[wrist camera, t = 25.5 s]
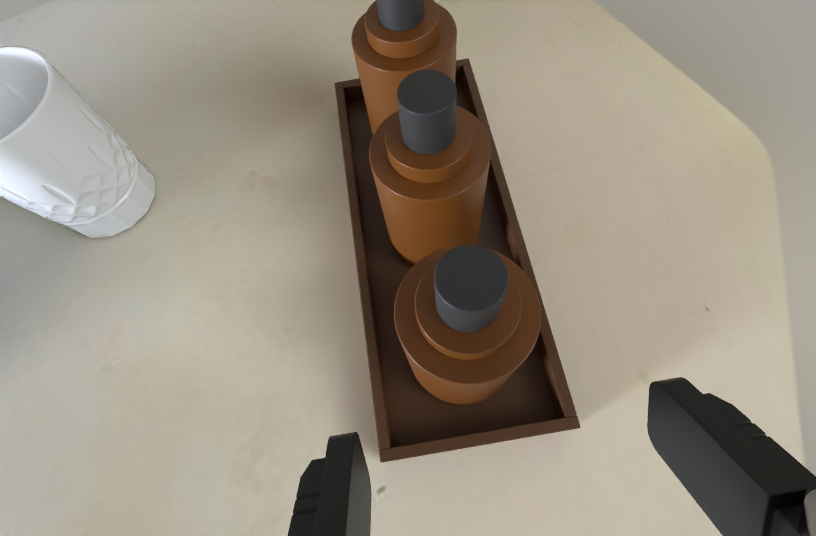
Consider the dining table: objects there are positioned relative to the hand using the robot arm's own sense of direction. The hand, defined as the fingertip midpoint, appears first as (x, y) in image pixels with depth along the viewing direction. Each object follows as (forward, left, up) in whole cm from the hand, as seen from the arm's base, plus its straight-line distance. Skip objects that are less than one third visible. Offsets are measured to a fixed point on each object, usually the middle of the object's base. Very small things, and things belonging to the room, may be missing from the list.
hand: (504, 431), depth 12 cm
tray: (+4, -12, -13) cm, 18 cm away
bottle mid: (+4, -12, -12) cm, 18 cm away
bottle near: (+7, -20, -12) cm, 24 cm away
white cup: (+29, -12, -13) cm, 33 cm away
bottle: (+1, -4, -12) cm, 13 cm away
